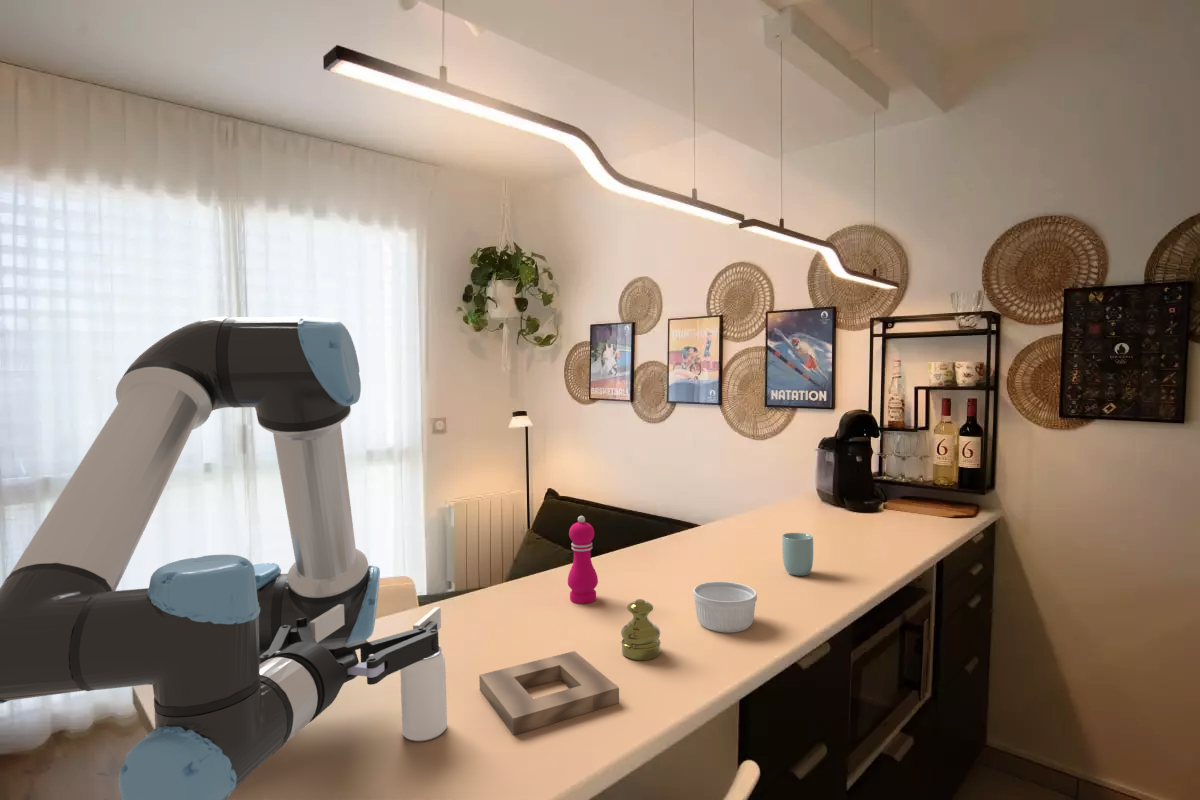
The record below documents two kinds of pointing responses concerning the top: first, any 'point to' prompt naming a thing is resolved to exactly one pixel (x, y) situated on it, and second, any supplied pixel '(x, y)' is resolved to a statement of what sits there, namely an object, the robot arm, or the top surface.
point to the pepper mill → (582, 563)
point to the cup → (797, 553)
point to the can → (424, 698)
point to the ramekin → (725, 606)
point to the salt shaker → (640, 633)
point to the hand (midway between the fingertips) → (389, 615)
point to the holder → (530, 713)
